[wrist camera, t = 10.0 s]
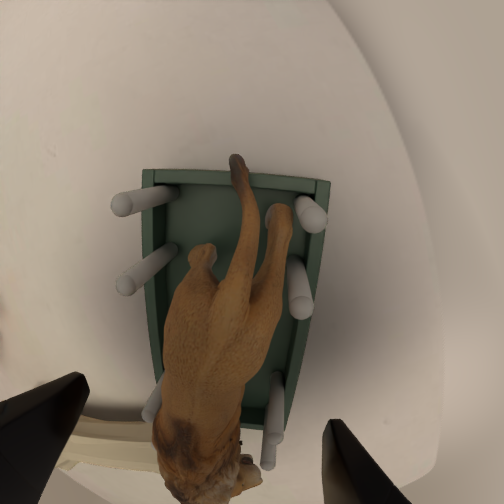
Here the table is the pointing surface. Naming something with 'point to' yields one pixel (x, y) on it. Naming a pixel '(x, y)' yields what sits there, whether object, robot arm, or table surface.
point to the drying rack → (226, 240)
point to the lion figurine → (218, 355)
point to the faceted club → (110, 445)
